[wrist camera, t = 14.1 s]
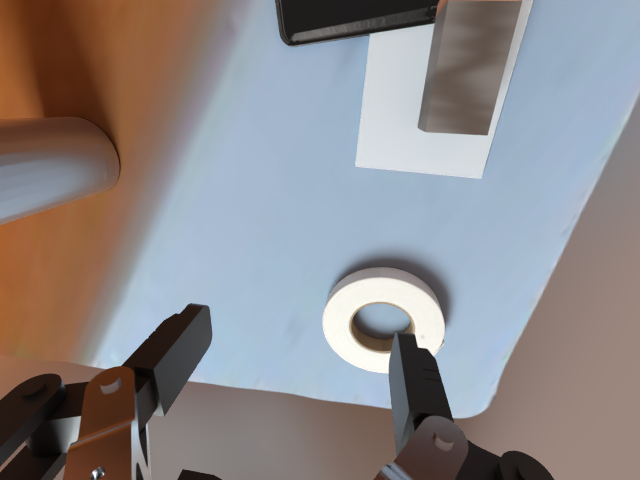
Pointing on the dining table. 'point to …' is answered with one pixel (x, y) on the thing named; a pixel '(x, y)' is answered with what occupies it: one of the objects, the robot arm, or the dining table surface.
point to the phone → (348, 18)
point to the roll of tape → (387, 290)
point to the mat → (418, 108)
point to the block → (466, 65)
